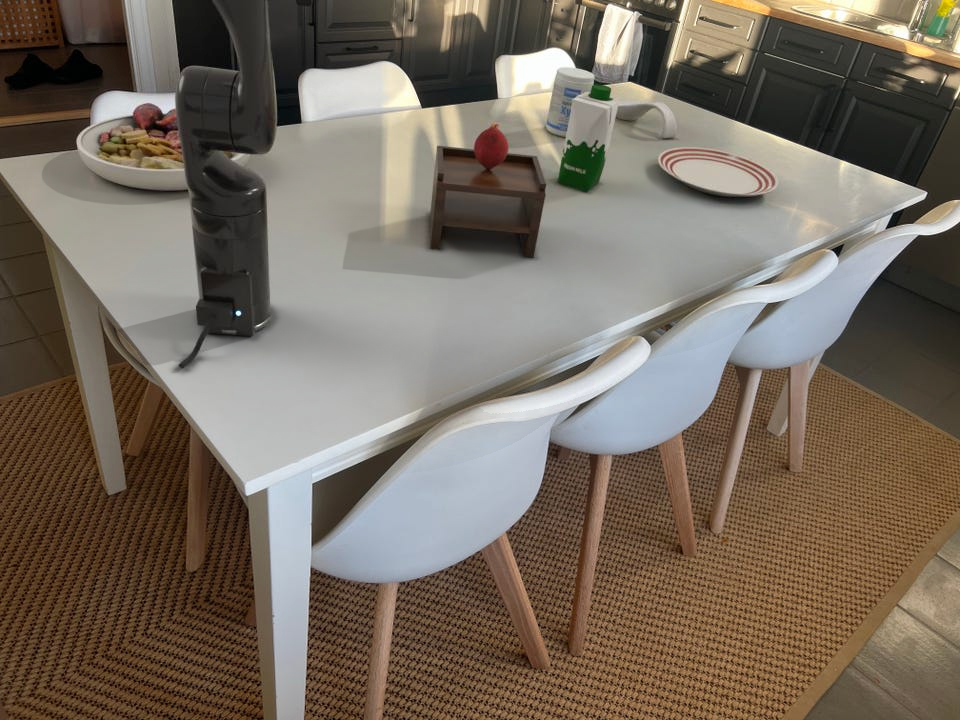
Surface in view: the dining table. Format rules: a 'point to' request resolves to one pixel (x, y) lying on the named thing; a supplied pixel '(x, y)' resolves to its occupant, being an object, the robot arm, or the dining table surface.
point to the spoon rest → (637, 109)
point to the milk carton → (588, 138)
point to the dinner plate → (717, 172)
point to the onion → (491, 147)
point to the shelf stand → (487, 195)
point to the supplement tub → (566, 97)
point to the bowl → (139, 150)
